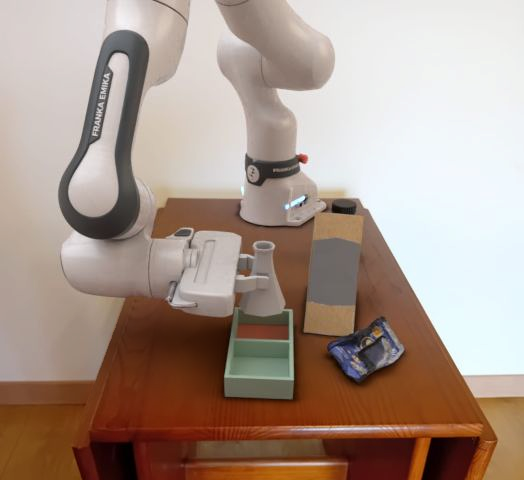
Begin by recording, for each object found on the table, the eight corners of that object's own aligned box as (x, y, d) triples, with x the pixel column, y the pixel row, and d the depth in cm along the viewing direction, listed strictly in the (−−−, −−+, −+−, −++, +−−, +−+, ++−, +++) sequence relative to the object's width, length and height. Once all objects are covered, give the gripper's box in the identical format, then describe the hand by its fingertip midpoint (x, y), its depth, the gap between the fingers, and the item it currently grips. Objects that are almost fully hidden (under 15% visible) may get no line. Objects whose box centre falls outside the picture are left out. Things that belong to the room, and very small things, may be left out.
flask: (288, 318, 80) (292, 256, 74) (239, 318, 79) (239, 256, 73) (283, 293, 85) (286, 234, 80) (237, 294, 85) (237, 234, 79)
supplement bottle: (328, 268, 108) (335, 210, 101) (315, 254, 113) (320, 198, 106) (359, 264, 110) (368, 207, 103) (345, 250, 115) (352, 195, 108)
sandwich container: (301, 333, 89) (308, 249, 80) (308, 288, 101) (314, 211, 92) (354, 337, 88) (366, 253, 79) (354, 291, 100) (364, 214, 91)
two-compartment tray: (234, 324, 90) (234, 307, 88) (291, 327, 90) (292, 309, 88) (224, 396, 75) (224, 377, 73) (292, 399, 75) (293, 380, 73)
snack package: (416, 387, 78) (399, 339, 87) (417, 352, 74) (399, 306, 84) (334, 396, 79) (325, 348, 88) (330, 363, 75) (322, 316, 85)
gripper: (160, 285, 69) (268, 289, 69) (184, 222, 86) (271, 226, 85) (164, 326, 73) (266, 330, 72) (186, 258, 89) (270, 262, 89)
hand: (269, 273), depth 79 cm, fingers closed on flask, 3 cm apart
